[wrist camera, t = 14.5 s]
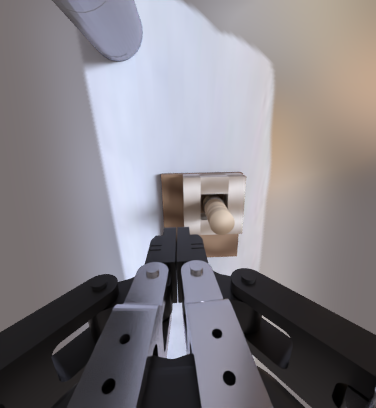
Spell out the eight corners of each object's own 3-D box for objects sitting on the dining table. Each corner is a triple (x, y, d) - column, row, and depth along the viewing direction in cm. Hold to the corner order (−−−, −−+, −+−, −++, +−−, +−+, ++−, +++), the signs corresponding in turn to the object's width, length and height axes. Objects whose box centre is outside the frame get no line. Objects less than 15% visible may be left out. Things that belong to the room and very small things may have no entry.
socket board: (161, 173, 42) (159, 178, 37) (240, 171, 42) (249, 176, 37) (166, 255, 48) (164, 269, 43) (235, 252, 49) (241, 266, 43)
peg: (201, 192, 42) (209, 211, 31) (221, 191, 42) (236, 210, 31) (201, 210, 43) (208, 235, 32) (220, 210, 43) (234, 235, 32)
